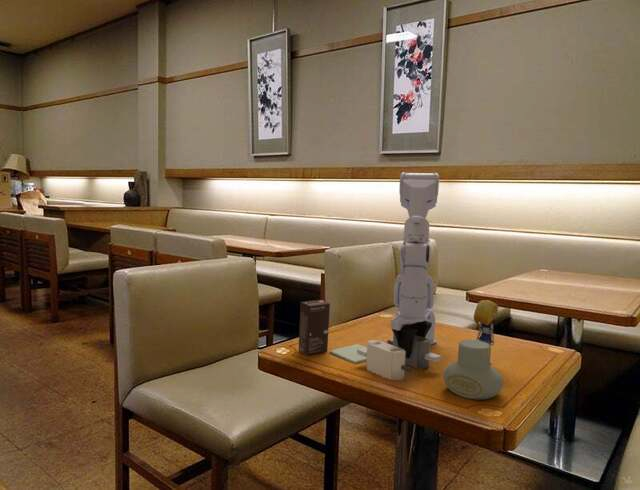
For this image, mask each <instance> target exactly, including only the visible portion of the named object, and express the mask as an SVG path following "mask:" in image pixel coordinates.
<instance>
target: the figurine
mask: <svg viewBox="0 0 640 490" xmlns="http://www.w3.org/2000/svg"><path fill="white" fill-rule="evenodd" d="M498 312H499V305H497V303H495V302H494V301H492V300H490V299H482V300H480V301H479V302H478V303H477V305H476V307H475V309H474V312H473V313H474V314H473V320H474V322H475V324H477V325H479V326H478V328H479V329H478V333H477V336H476V339H475V340H478V341H482V342H485V343H487V344H489V345H490V346H491V347H492V346H494V345H495V337H494V325H493V323H492V320H493V319H494V318H495V315H497V314H498ZM490 366H492V363H491V362H490Z"/></svg>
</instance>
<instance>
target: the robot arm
mask: <svg viewBox="0 0 640 490" xmlns="http://www.w3.org/2000/svg"><path fill="white" fill-rule="evenodd" d="M439 188H440V175H439V174H438V172H433V173H431V172H429V173H427V172H426V173H425V172H423V173H422V172H405V171H403V172H402V173H400V176H399V202H400V207H402V208H404V209H406V210H407V214H408V218H407V219H406V220H405V221H404V227H403V240H402V244H400V245H401V246H400V250H399V251H400V252H399V254H400V256H399V264H400V274H398V275H397V276H396V277H395V284H394V293H393V304H394V306H395V307H396V308H398V311H396V312H395V316H396V317H394V318H392V319H391V320H390V330H391V331H392V332H393V333H394V334H395V337H396V339H397V342H398V347H399V348H401V349H404V350H405V358H410V355H411V350H412V344H413V340H414V337H415V335H417V336H420V337H423V338H426V339H429V340H430V346H431V345H434V344H437V340H435V331H436V317H435V314H434V311H433V310H432V309H433V308H434V295H435V291H434V288H435V287H434V283H435V282H434V279H433V278H432V276H430V275H429V274H428V272H429V271H428V270H429V268H430V265H431V254H432V253H431V252H432V248H431V242H430V221H428V219H427V216H428V213H429V212H430V210H432V209H434V208H436V205H437V204H438V196H439ZM426 265H427V267H426ZM390 340H391V341H393V338H391V339H390Z"/></svg>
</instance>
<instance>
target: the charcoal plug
mask: <svg viewBox="0 0 640 490" xmlns="http://www.w3.org/2000/svg"><path fill="white" fill-rule="evenodd" d="M392 335H393V336H392V339H393V341H391V339H388V340H387V341H386V343H387V344H390V345H393V346H396V347H398V342H397V339H396V337H395V334H394V333H393V334H392ZM398 348H399V347H398ZM441 360H442V355H439V354H437V353H434V352H431V345H430V340H429V339H426V338H423V337H420V336H417V335H415V337H414V340H413V344H412V350H411V355H410V358H405V365H406V366H407V365H408V366H411V367H413V368H416V369H422V370H427V369H429V368H430V362H433V363H437V362H440V361H441Z"/></svg>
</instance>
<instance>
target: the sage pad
mask: <svg viewBox="0 0 640 490" xmlns="http://www.w3.org/2000/svg"><path fill="white" fill-rule="evenodd" d="M361 348H366V349H367V346H364V345H361V344H359V343H355V344H352V345H348V346H344V347H343V346H342V347H340V348H339V347H338V348H334V349H331V350H329V354H332V355H335V356H336V357H339V358H341V359H342V360H343V359H344V360H346V361H348V362H350V363H353V364H355V365H356V364H360V363H364V362H366V357H364V356H361V355H359V354H357V349H361Z"/></svg>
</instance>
